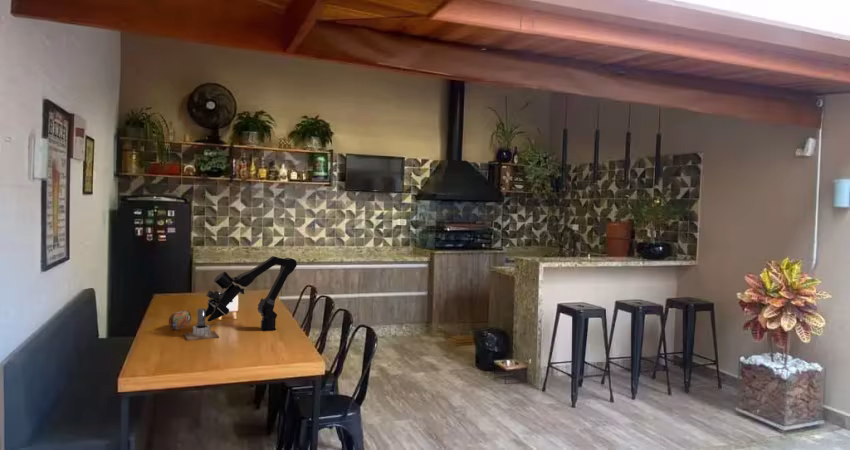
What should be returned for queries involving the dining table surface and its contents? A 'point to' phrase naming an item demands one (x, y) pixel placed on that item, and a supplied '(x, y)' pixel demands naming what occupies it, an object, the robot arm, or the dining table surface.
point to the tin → (179, 320)
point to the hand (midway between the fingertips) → (205, 319)
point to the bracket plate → (190, 337)
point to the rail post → (201, 318)
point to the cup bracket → (201, 331)
